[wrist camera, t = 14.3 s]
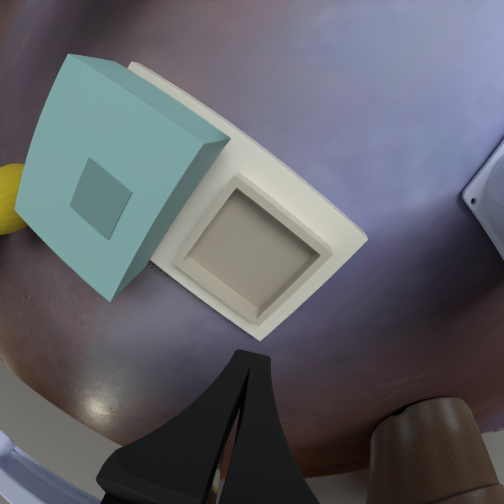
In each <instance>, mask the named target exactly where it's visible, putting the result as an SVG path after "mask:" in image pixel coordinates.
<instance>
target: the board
mask: <svg viewBox="0 0 504 504" xmlns="http://www.w3.org/2000/svg"><path fill="white" fill-rule="evenodd" d="M127 69H129V70H130V71H132V72H134V73H135V74H137V75H138V76H140V77H142V78H143V79H145V80H146V81H148V82H150V83H151V84H153V85H154V86H156V87H157V88H159V89H160V90H162V91H164V92H165V93H167V94H168V95H170V96H171V97H173V98H174V99H176V100H177V101H179V102H180V103H182V104H183V105H185V106H186V107H188V108H189V109H190V110H192V111H193V112H195V113H196V114H198V115H199V116H201V117H202V118H203V119H205V120H206V121H208V122H209V123H210V124H212V125H213V126H215V127H216V128H217V129H219V130H220V131H222V132H223V133H224V134H226V135H227V136H229V137H230V138H231V139H230V141H229V142H228V143H227V145H226V146H225V147H224V149H223V150H222V151H221V153H220V154H219V156H218V157H217V158H216V160H215V161H214V163H213V164H212V165H211V167H210V168H209V170H208V171H207V172H206V174H205V175H204V177H203V178H202V180H201V181H200V183H199V184H198V185H197V187H196V188H195V190H194V191H193V193H192V194H191V196H190V197H189V199H188V200H187V202H186V203H185V205H184V206H183V208H182V209H181V211H180V212H179V214H178V215H177V217H176V219H175V220H174V222H173V223H172V225H171V226H170V228H169V229H168V231H167V233H166V234H165V236H164V237H163V239H162V241H161V242H160V244H159V245H158V247H157V249H156V250H155V252H154V254H153V255H152V257H151V259H150V260H151V261H152V262H154V263H155V264H156V265H157V266H159V267H160V268H161V269H162V270H164V271H165V272H166V273H167V274H169V275H170V276H171V277H173V278H174V279H175V280H176V281H178V282H179V283H180V284H182V285H183V286H184V287H186V288H187V289H188V290H190V291H191V292H192V293H193V294H195V295H196V296H197V297H199V298H200V299H202V300H203V301H204V302H206V303H207V304H208V305H210V306H211V307H212V308H214V309H215V310H216V311H218V312H219V313H221V314H222V315H223V316H225V317H226V318H228V319H229V320H230V321H232V322H233V323H235V324H236V325H237V326H239V327H240V328H242V329H243V330H244V331H246V332H247V333H249V334H250V335H252V336H253V337H255V338H256V339H257V340H259V341H261V340H262V339H263V338H264V337H266V336H267V335H268V334H269V333H270V332H271V331H272V330H274V329H275V328H276V327H277V326H278V325H279V324H280V323H281V322H283V321H284V320H285V319H286V318H287V317H288V316H289V315H290V314H291V313H293V312H294V311H295V310H296V309H297V308H298V307H299V306H300V305H301V304H302V303H303V302H305V301H306V300H307V299H308V298H309V297H310V296H311V295H312V294H313V293H314V292H315V291H316V290H317V289H318V288H320V287H321V286H322V285H323V284H324V283H325V282H326V281H327V280H328V279H329V278H330V277H331V276H332V275H333V274H334V273H335V272H336V271H337V270H338V269H339V268H340V267H341V266H342V265H343V264H344V263H345V262H346V261H347V260H348V259H349V258H350V257H351V256H352V255H353V254H354V253H355V252H356V251H357V250H358V249H359V248H360V247H361V246H362V245H363V244H364V243H365V242H366V241H367V240H368V237H367V235H366V233H365V232H363V231H362V230H361V229H360V228H359V227H358V226H357V225H356V224H355V223H354V222H353V221H351V220H350V219H349V218H348V217H347V216H346V215H345V214H344V213H343V212H341V211H340V210H339V209H338V208H337V207H336V206H335V205H333V204H332V203H331V202H330V201H329V200H328V199H326V198H325V197H324V196H323V195H322V194H321V193H319V192H318V191H317V190H316V189H315V188H314V187H312V186H311V185H310V184H309V183H308V182H306V181H305V180H304V179H303V178H302V177H300V176H299V175H298V174H297V173H295V172H294V171H293V170H292V169H290V168H289V167H288V166H287V165H285V164H284V163H283V162H282V161H280V160H279V159H278V158H277V157H275V156H274V155H273V154H272V153H270V152H269V151H268V150H266V149H265V148H264V147H262V146H261V145H260V144H258V143H257V142H256V141H255V140H253V139H252V138H251V137H249V136H248V135H246V134H245V133H244V132H242V131H241V130H240V129H238V128H237V127H236V126H234V125H233V124H231V123H230V122H229V121H227V120H226V119H224V118H223V117H222V116H220V115H219V114H217V113H216V112H214V111H213V110H212V109H210V108H209V107H207V106H206V105H204V104H203V103H201V102H200V101H198V100H197V99H195V98H194V97H192V96H191V95H189V94H188V93H186V92H185V91H183V90H182V89H180V88H179V87H177V86H176V85H174V84H172V83H171V82H169V81H168V80H166V79H164V78H163V77H161V76H160V75H158V74H156V73H155V72H153V71H152V70H150V69H148V68H147V67H145V66H143V65H141V64H140V63H136V62H133V61H132V62H131V63H130V65H129V67H128V68H127Z"/></svg>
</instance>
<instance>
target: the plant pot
mask: <svg viewBox="0 0 504 504" xmlns="http://www.w3.org/2000/svg"><path fill="white" fill-rule="evenodd" d="M366 504H504V486H503V485H501V484H500V483H499V481H498V478H497V475H496V473H495V470H494V467H493V464H492V462H491V459H490V456H489V454H488V451H487V449H486V446H485V443H484V441H483V439H482V436H481V434H480V431H479V429H478V427H477V424H476V422H475V420H474V418H473V415H472V413H471V411H470V408H469V407H468V405H467V404H466V403H465V402H464V400H462V399H460V398H456V397H440V398H434V399H429V400H425V401H422V402H419V403H416V404H413V405H411V406H408V407H407V408H406V409H405V410H404V411H403V412H402V413H401V414H399V415H395V416H394V415H391V416H389V417H388V418H387V419H385V420H384V421H383V422H382V423H381V424H379V425H378V427H377V428H376V429H375V430H374V432H373V434H372V436H371V440H370V465H369V480H368V492H367V501H366Z"/></svg>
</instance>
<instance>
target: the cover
mask: <svg viewBox="0 0 504 504" xmlns="http://www.w3.org/2000/svg"><path fill="white" fill-rule="evenodd" d="M230 139H231V138H230V137H229V136H227V135H226V134H224V133H223V132H222V131H220V130H219V129H217V128H216V127H215V126H213V125H212V124H210V123H209V122H208V121H206V120H205V119H203V118H202V117H201V116H199V115H198V114H196V113H195V112H193V111H192V110H190V109H189V108H188V107H186V106H185V105H183V104H182V103H180V102H179V101H177V100H176V99H174V98H173V97H171V96H170V95H168V94H167V93H165V92H164V91H162V90H160V89H159V88H157V87H156V86H154V85H153V84H151V83H150V82H148V81H146V80H145V79H143V78H142V77H140V76H138V75H137V74H135V73H134V72H132V71H130V70H129V69H127V68H125V67H124V66H122V65H120V64H119V63H117V62H115V61H110V60H105V59H99V58H93V57H88V56H81V55H75V54H68V55H67V57H66V59H65V61H64V63H63V65H62V67H61V69H60V71H59V73H58V75H57V77H56V80H55V82H54V84H53V86H52V89H51V91H50V93H49V96H48V98H47V100H46V103H45V105H44V108H43V111H42V113H41V116H40V119H39V121H38V124H37V127H36V130H35V133H34V136H33V139H32V142H31V145H30V148H29V151H28V155H27V158H26V162H25V166H24V169H23V173H22V177H21V181H20V185H19V190H18V194H17V199H16V204H15V209H14V210H15V211H16V212H17V213H18V214H19V215H20V216H21V218H22V219H23V220H24V221H25V222H26V223H27V224H28V225H29V226H30V227H31V228H32V230H33V231H34V232H35V233H36V234H37V235H38V236H39V237H40V238H41V239H42V240H43V241H44V242H45V243H46V244H47V245H48V246H49V247H50V248H51V249H52V250H53V251H54V252H55V253H56V254H57V255H58V256H59V257H60V258H61V259H62V260H63V261H64V262H65V263H66V264H67V265H68V266H70V267H71V268H72V269H73V270H74V271H75V272H76V273H77V274H78V275H79V276H80V277H81V278H83V279H84V280H85V281H86V282H87V283H88V284H89V285H90V286H92V287H93V288H94V289H95V290H96V291H97V292H98V293H100V294H101V295H102V296H103V297H104V298H105V299H107V300H108V301H109V302H111V301H112V300H113V299H114V298H115V297H116V296H117V295H118V294H119V293H120V292H121V291H122V290H123V289H124V288H125V287H126V286H127V285H128V284H129V283H130V282H131V281H132V280H133V279H134V278H135V277H136V276H137V275H138V274H139V273H140V272H141V271H142V270H143V269H144V268H145V267H146V265H147V264H148V262H149V260H150V259H151V257H152V255H153V254H154V252H155V250H156V249H157V247H158V245H159V244H160V242H161V241H162V239H163V237H164V236H165V234H166V233H167V231H168V229H169V228H170V226H171V225H172V223H173V222H174V220H175V219H176V217H177V215H178V214H179V212H180V211H181V209H182V208H183V206H184V205H185V203H186V202H187V200H188V199H189V197H190V196H191V194H192V193H193V191H194V190H195V188H196V187H197V185H198V184H199V183H200V181H201V180H202V178H203V177H204V175H205V174H206V172H207V171H208V170H209V168H210V167H211V165H212V164H213V163H214V161H215V160H216V158H217V157H218V156H219V154H220V153H221V151H222V150H223V149H224V147H225V146H226V145H227V143H228V142H229V141H230Z"/></svg>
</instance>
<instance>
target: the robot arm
mask: <svg viewBox="0 0 504 504" xmlns="http://www.w3.org/2000/svg"><path fill="white" fill-rule="evenodd" d="M462 198H463V200H464V202H465V203H466V204H467V206H468V207H469V208H470V210H471V211H472V213H473V214H474V215H475V217H476V218H477V220H478V221H479V223H480V224H481V225H482V227H483V228H484V230H485V231H486V233H487V235H488V236H489V238H490V239H491V241H492V242H493V244H494V245H495V247H496V249H497V250H498V252H499V254H500V255H501V257H502V259H503V260H504V139H503V140H502V142H501V143H500V145H499V146H498V147H497V149H496V150H495V151H494V153H493V154H492V155H491V157H490V158H489V159H488V160H487V162H486V163H485V164H484V166H483V167H482V168H481V169H480V171H479V172H478V173H477V174H476V176H475V177H474V178H473V179H472V181H471V182H470V183H469V184H468V185H467V187H466V188H465V189H464V191H463V192H462ZM472 198H474V202H473V203H472V204H471V200H472ZM240 406H241V407H240ZM239 409H240V413H239V419H238V425H237V431H236V437H235V443H234V449H233V453H232V458H231V462H230V465H229V469H228V472H227V476H226V479H225V483H224V486H223V490H222V493H221V496H220V500H219V503H218V504H320V503H319V501H318V500H317V498H316V497H315V495H314V494H313V492H312V491H311V489H310V488H309V486H308V484H307V483H306V481H305V479H304V477H303V476H302V474H301V472H300V470H299V468H298V466H297V464H296V462H295V460H294V458H293V455H292V453H291V451H290V449H289V446H288V444H287V441H286V438H285V436H284V433H283V430H282V427H281V423H280V420H279V416H278V412H277V408H276V404H275V399H274V394H273V388H272V380H271V358H270V357H269V356H265V355H261V354H256V353H252V352H248V351H244V350H240V349H238V350H236V351H235V353H234V355H233V357H232V358H231V360H230V361H229V363H228V364H227V366H226V367H225V368H224V370H223V371H222V372H221V373H220V375H219V376H218V377H217V378H216V379H215V381H214V382H213V383H212V384H211V385H210V386H209V387H208V388H207V389H206V390H205V391H204V392H203V393H202V394H201V395H200V396H199V397H198V398H197V399H196V400H195V401H194V402H193V403H192V404H191V405H190V406H188V407H187V408H186V409H185V410H184V411H182V412H181V413H180V414H178V415H177V416H176V417H174V418H173V419H172V420H170V421H169V422H167V423H166V424H164V425H163V426H161V427H160V428H158V429H156V430H155V431H153V432H151V433H150V434H148V435H146V436H144V437H143V438H141V439H139V440H137V441H135V442H132V443H130V444H128V445H126V446H124V447H121V448H119V449H117V450H115V451H114V453H112V455H111V456H110V457H109V458H108V459H107V460H106V462H105V463H104V464H103V466H102V467H101V469H100V471H99V473H98V475H97V477H96V481H97V483H98V484H99V485H100V486H101V488H102V489H103V490H104V491H105V492H106V493H105V496H104V498H103V499H102V500H100V499H98V498H96V497H94V496H92V495H90V494H88V493H86V492H85V491H83V490H81V489H79V488H78V487H76V486H74V485H73V484H71V483H69V482H68V481H66V480H64V479H63V478H61V477H60V476H58V475H57V474H55V473H53V472H52V471H50V470H49V469H47V468H46V467H44V466H43V465H42V464H40V463H39V462H37V461H36V460H35V459H33V458H32V457H30V456H29V455H28V454H27V453H25V452H24V451H23V450H21V449H20V448H19V447H17V446H16V445H15V443H14V442H13V441H12V439H11V438H10V437H9V436H8V435H7V434H6V433H4V432H3V431H2V430H1V429H0V494H1V495H2V496H3V497H4V498H5V499H6V500H7V501H8V502H10V503H11V504H207V500H208V497H209V494H210V491H211V487H212V484H213V481H214V477H215V474H216V471H217V467H218V464H219V461H220V457H221V454H222V451H223V449H224V446H225V444H226V441H227V439H228V436H229V434H230V431H231V429H232V426H233V424H234V421H235V419H236V416H237V414H238V411H239Z"/></svg>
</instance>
